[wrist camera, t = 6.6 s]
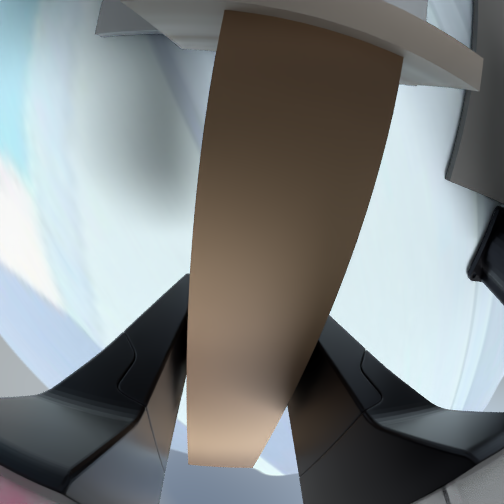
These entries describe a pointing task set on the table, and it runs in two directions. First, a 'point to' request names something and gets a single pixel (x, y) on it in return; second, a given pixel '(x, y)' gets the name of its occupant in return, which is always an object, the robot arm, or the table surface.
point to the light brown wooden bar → (284, 187)
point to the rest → (483, 110)
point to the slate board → (130, 23)
